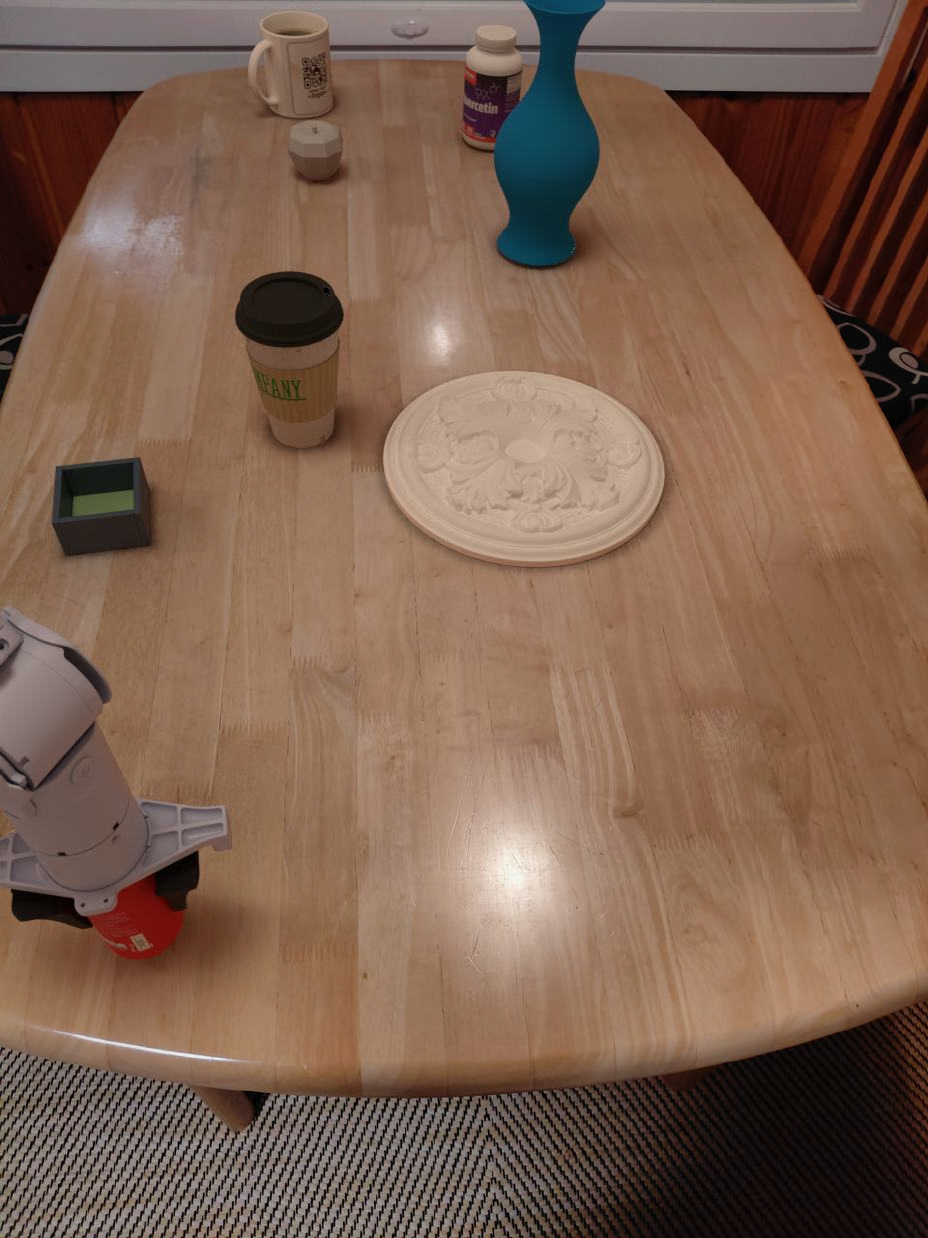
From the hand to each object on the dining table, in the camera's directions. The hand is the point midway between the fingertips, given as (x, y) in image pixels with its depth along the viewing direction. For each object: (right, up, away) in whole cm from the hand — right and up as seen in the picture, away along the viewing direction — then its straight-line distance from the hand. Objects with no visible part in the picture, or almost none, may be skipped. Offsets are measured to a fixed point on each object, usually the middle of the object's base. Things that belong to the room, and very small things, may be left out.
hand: (133, 905), depth 60 cm
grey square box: (-12, +27, +26) cm, 40 cm away
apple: (+1, +80, +69) cm, 105 cm away
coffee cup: (+5, +38, +36) cm, 52 cm away
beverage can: (0, -3, +3) cm, 4 cm away
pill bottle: (+25, +89, +78) cm, 120 cm away
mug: (-5, +96, +82) cm, 127 cm away
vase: (+30, +65, +59) cm, 93 cm away
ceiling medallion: (+27, +34, +34) cm, 55 cm away
